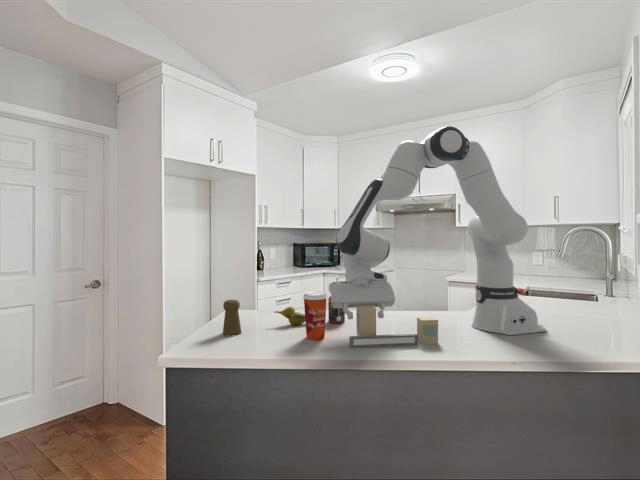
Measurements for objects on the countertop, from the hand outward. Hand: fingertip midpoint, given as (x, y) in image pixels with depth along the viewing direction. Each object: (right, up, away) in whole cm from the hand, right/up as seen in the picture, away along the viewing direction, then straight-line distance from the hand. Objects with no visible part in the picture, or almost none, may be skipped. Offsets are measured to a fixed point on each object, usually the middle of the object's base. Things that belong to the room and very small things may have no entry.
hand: (365, 317), depth 113 cm
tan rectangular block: (0, -7, +1) cm, 7 cm away
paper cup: (-15, -7, +4) cm, 17 cm away
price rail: (+5, -7, -5) cm, 10 cm away
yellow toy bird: (-23, -7, +19) cm, 30 cm away
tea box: (+18, -7, -1) cm, 20 cm away
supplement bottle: (-8, -6, +22) cm, 24 cm away
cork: (-43, -7, +9) cm, 44 cm away
